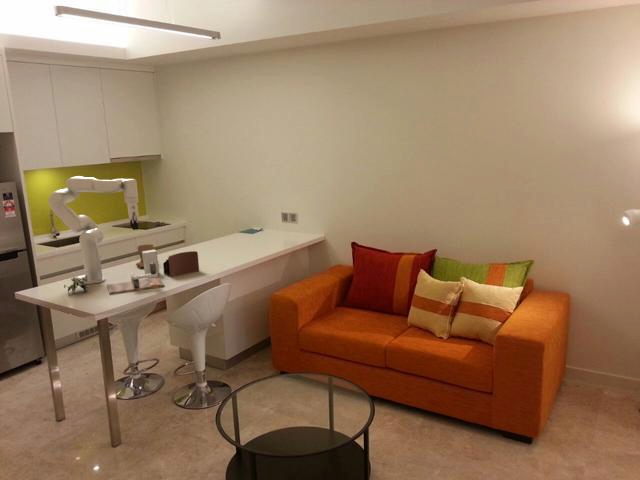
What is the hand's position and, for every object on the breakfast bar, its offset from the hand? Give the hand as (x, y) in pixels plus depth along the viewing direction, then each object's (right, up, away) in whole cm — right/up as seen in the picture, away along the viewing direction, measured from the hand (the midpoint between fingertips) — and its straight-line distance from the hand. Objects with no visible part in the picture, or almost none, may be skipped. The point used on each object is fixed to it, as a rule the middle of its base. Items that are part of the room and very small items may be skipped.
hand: (134, 228), depth 324 cm
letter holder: (+23, -28, +22) cm, 42 cm away
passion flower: (-27, -37, -16) cm, 49 cm away
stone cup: (-7, -25, +43) cm, 50 cm away
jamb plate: (+3, -34, -7) cm, 35 cm away
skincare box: (+4, -29, +22) cm, 36 cm away
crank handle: (+10, -29, -11) cm, 32 cm away
